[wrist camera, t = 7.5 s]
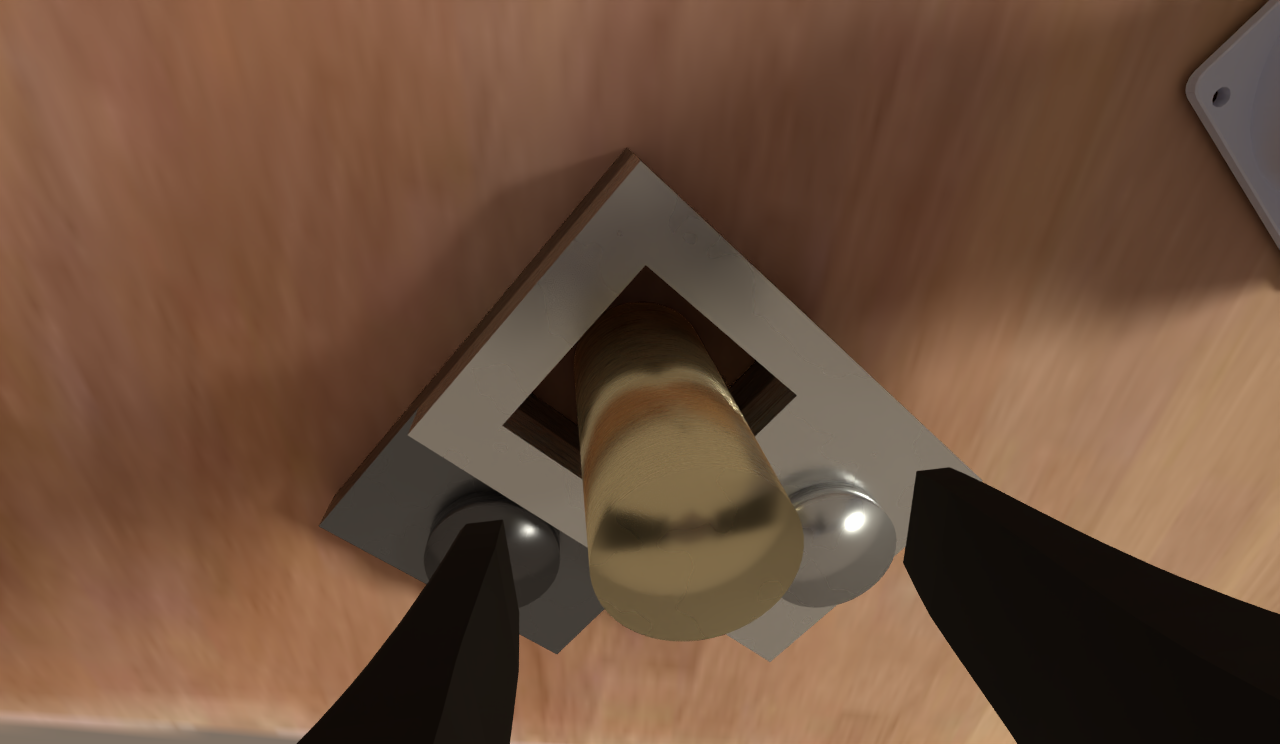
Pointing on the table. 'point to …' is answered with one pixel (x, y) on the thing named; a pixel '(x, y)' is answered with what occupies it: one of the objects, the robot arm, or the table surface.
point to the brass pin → (675, 483)
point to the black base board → (482, 497)
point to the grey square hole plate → (778, 416)
